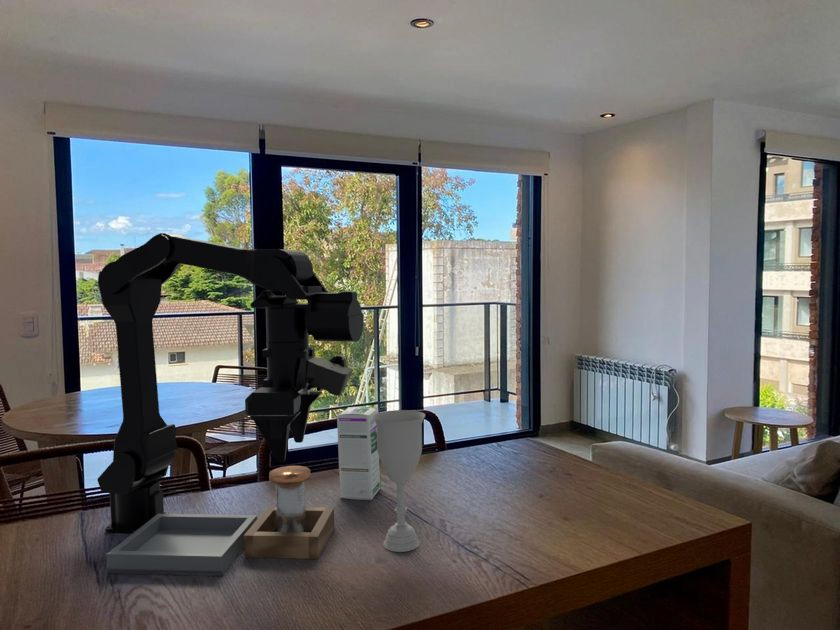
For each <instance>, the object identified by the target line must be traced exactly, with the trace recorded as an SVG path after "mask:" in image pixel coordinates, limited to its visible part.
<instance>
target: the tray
mask: <svg viewBox="0 0 840 630" xmlns="http://www.w3.org/2000/svg"><path fill="white" fill-rule="evenodd" d="M257 519H258V515H257V514H210V513H209V514H206V513H205V514H204V513H199V514H198V513H196V514H195V513H193V514H192V513H166V514H157V515H156V516H154V517H153V518H152V519H151V520H149V521H148V522H147V523H145V524H144V525H143V526H142V527H140V528H139V529H138V530H137V531H135V532H132V533H131V534H130V535H129V536H128V537H126V538H125V539H124V540H122V542H120V543H119V544H117V545H116V546H115V547H113V548H112V549H111V550H110V551H109V552H107V553H105V554H106V573H107V574H120V575H121V574H125V575H132V574H133V575H164V576H165V575H169V576H171V575H175V576H179V575H180V576H212V577H213V576H214V577H215V576H216V577H218V576H219V577H222V576H224V574H225V573H226V572H227V570H229V568H230V567H231V565H233V563H234V562H235V561H236V559H237V558H238V557H239V556H240V554H241V553H242V552H244V535H245V533H246V532H247V531H248V530H249V529H250V527H251V526H252V525H253V524H254V523H255V522H256V520H257Z"/></svg>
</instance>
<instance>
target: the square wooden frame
mask: <svg viewBox="0 0 840 630" xmlns="http://www.w3.org/2000/svg"><path fill="white" fill-rule="evenodd" d="M305 507H306V532H277V513H276V506H267V507H266V508H265V510H264V511H263V512H262V513H261V515H260V516H259V517H257V520H256V522H255V523H254V524H253V525H252V526H251V527H250V529H249V530H248V531H247V532H246V533H245V535H244V549H243V553H244V558H251V559H252V558H258V559H261V558H262V559H263V558H265V559H306V560H309V559H310V560H316V559H317V560H319V558H320V557H321V555H322V552H323V551H324V549H325V547H326V545H327V543H328V541H329V540H330V537H331V535H332V533H333V531H334V529H335V528H336V527H335V507H330V506H329V507H328V506H327V507H325V506H324V507H320V506H319V507H318V506H317V507H316V506H312V507H311V506H305ZM307 531H308V532H307ZM309 531H311V532H309Z"/></svg>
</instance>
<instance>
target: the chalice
mask: <svg viewBox="0 0 840 630" xmlns="http://www.w3.org/2000/svg"><path fill="white" fill-rule="evenodd" d="M425 417H426V413H424V412H421V411H418V410H410V409H409V410H408V409H401V410H400V409H399V410H396V409H395V410H386V411H382V412H378V413H377V414H375V415H374V416H373V419H374V420H375V422H376V424H377V452H378V455H379V458H380V464H381V466H382V467H383V469H384V471H385V473H386V475H387V477H388V479H389V481H390V482H392V483H395V484H396V494H395V495H394V499H396V502H397V503H396V507H394V512H396V515H397V520H396V522H395V523H394V524H393V525H391V526H390V527H389V529H388V530H387V534H386V535H385V539H384V541H383V543H382V545H383V548H384V549H386V550H388V551H391V552H398V553H403V552H410V551H413V550H416V549H417V548H418V547H419V546H420V540H419V538H418V537H417V536H418V535H417V534H416V531H415V528H414V527H413V526H412V525H410V524H408V522H406V519H405V514H406V512H407V511H408V508H407V507H406V505H405V500H406V498H407V494H406V491H405V483H407V482H409V481H411V479H412V477H413V475H414V473H415V472H416V471H415V470H416V469H417V467H418V464H419V461H420V458H421V455H422V451H423V431H422V430H423V428H422V427H423V426H422V425H423V422H424V419H425Z"/></svg>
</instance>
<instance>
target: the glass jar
mask: <svg viewBox="0 0 840 630" xmlns="http://www.w3.org/2000/svg"><path fill="white" fill-rule="evenodd" d="M268 475H269V476H268V478H269V482H270V483H272V484H274V485H275V505H276V506H275V507H276V513H277V530H276V532H307V530H306V507H307V506H306V481H308V480H309V479H310V478H311V469H310V468H309V467H307V466H302V465H287V466H281V467H276V468H274V469H272V470H271V471H270V472H269V474H268Z"/></svg>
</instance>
